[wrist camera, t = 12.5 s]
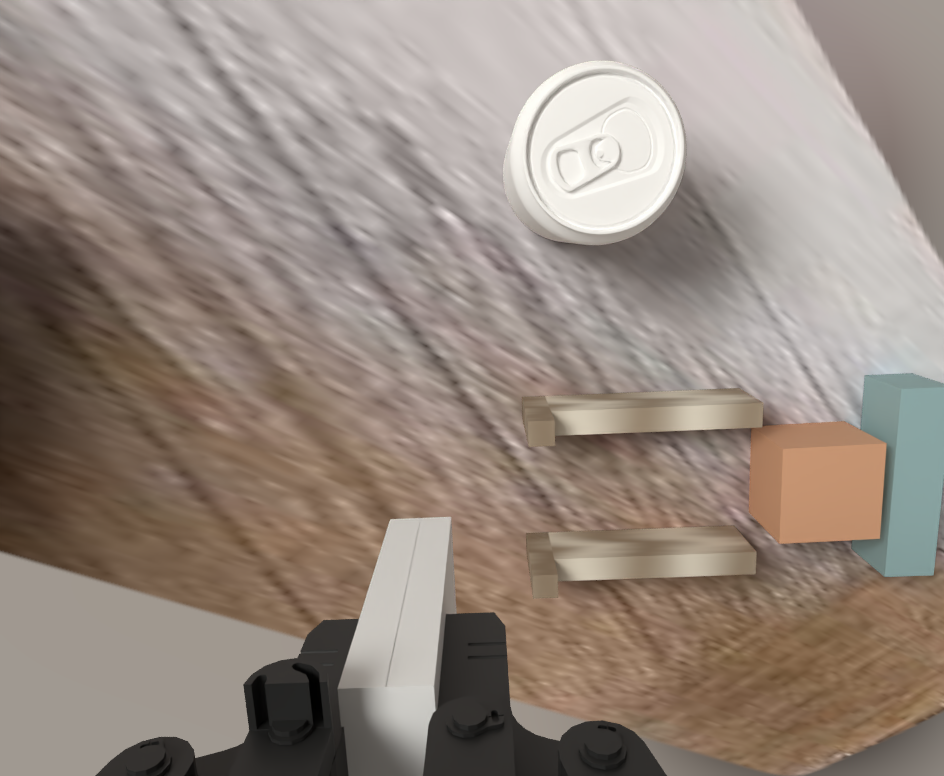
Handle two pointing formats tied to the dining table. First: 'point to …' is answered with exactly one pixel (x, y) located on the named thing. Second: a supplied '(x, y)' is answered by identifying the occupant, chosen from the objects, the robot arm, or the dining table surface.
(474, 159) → the dining table surface
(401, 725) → the robot arm
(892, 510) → the stop block
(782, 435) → the block
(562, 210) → the beverage can
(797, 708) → the dining table surface
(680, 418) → the parallel beige rails
